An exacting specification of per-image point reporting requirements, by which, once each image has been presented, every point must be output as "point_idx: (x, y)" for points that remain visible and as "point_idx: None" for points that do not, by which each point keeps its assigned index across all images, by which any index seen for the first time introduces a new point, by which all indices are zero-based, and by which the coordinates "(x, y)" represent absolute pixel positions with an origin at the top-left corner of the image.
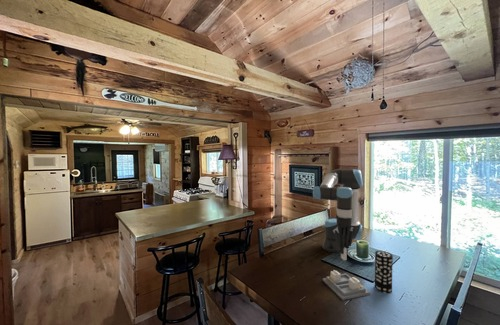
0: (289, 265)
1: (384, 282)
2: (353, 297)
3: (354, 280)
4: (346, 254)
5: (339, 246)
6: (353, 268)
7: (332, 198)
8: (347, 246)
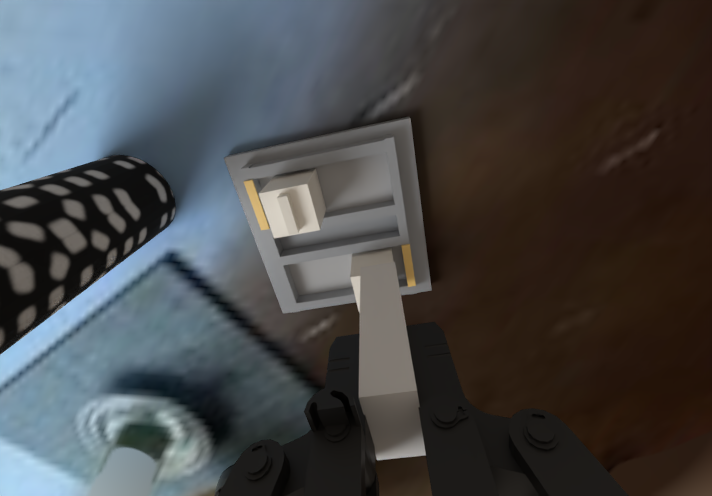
0: (532, 399)
1: (95, 176)
2: (334, 133)
3: (292, 205)
4: (362, 312)
5: (569, 436)
6: (226, 358)
7: None
8: (337, 432)
